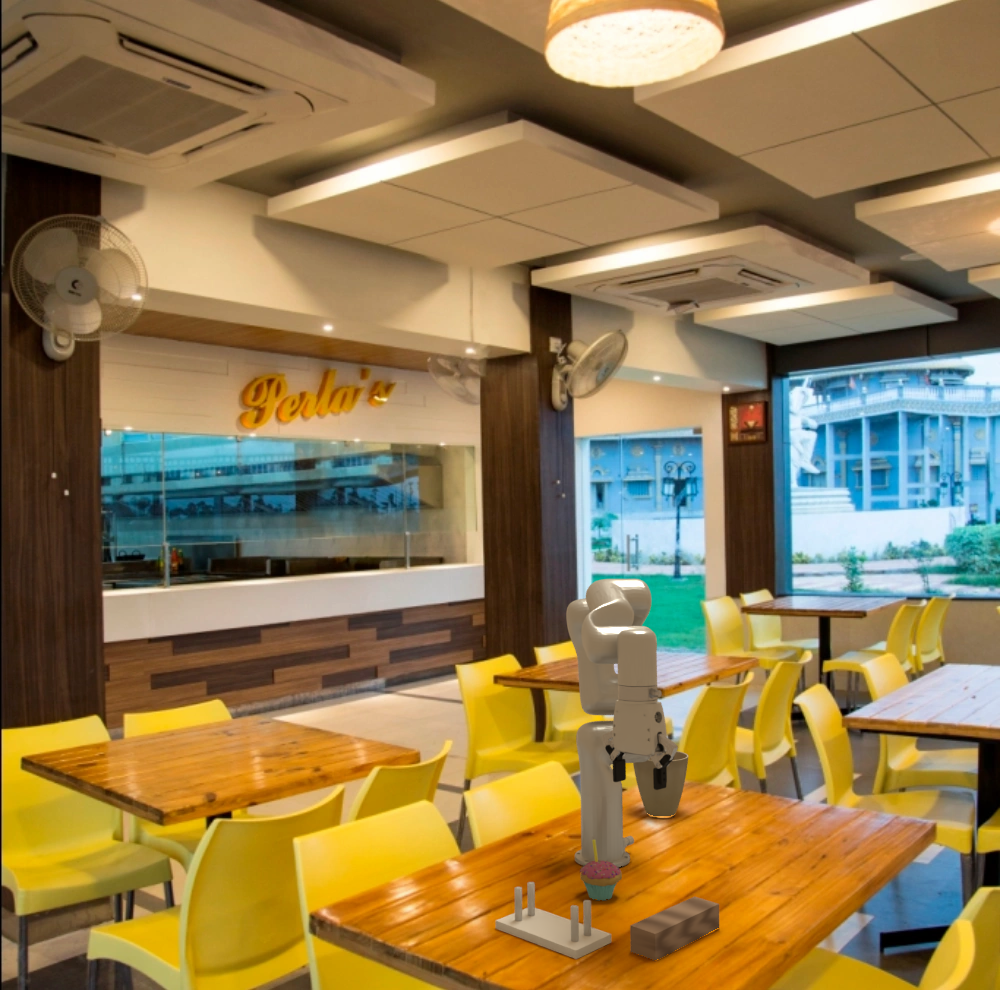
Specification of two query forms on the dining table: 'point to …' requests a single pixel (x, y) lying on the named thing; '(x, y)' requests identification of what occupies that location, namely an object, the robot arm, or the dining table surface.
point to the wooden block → (674, 928)
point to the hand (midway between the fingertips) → (639, 784)
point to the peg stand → (553, 927)
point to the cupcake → (600, 877)
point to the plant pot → (666, 798)
